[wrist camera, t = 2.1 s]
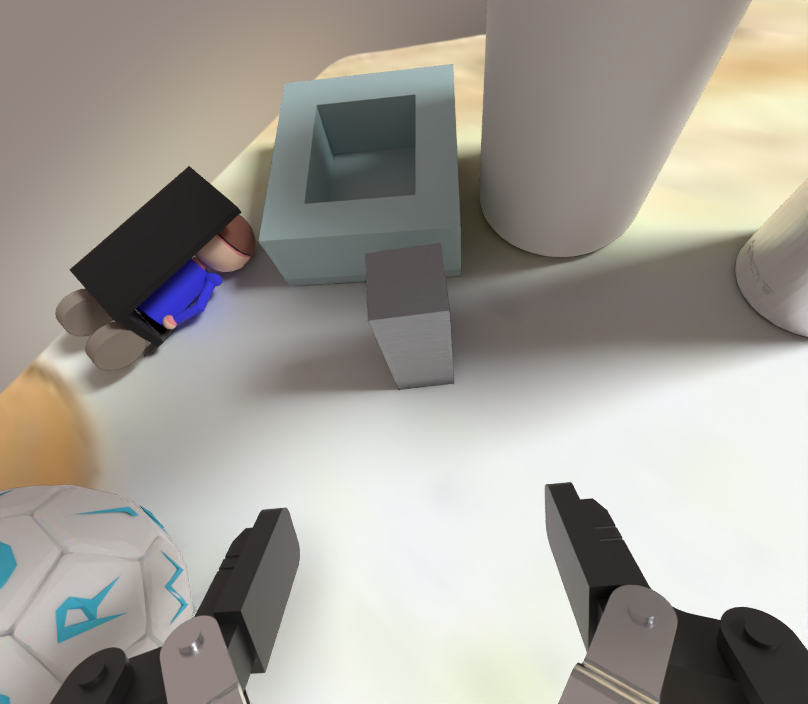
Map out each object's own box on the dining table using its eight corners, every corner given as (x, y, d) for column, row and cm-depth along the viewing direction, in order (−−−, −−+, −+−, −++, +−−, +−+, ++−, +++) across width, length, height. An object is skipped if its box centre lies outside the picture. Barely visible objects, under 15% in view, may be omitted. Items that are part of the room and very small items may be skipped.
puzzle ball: (56, 845, 24) (-482, 1251, 10) (-14, 594, 30) (-423, 644, 16) (284, 649, 26) (90, 771, 13) (179, 451, 32) (-35, 387, 18)
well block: (454, 127, 41) (453, 64, 35) (461, 276, 35) (460, 226, 29) (307, 141, 42) (284, 83, 37) (289, 286, 36) (258, 241, 31)
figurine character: (156, 391, 36) (284, 255, 37) (71, 366, 29) (233, 198, 30) (114, 343, 38) (235, 216, 40) (25, 308, 31) (178, 155, 33)
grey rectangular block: (454, 383, 31) (449, 310, 21) (398, 389, 32) (368, 320, 22) (444, 309, 34) (436, 212, 24) (392, 315, 34) (363, 223, 24)
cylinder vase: (660, 244, 34) (1083, -383, 11) (497, 275, 34) (563, -249, 11) (607, 128, 39) (818, -469, 16) (465, 157, 39) (468, -372, 16)
